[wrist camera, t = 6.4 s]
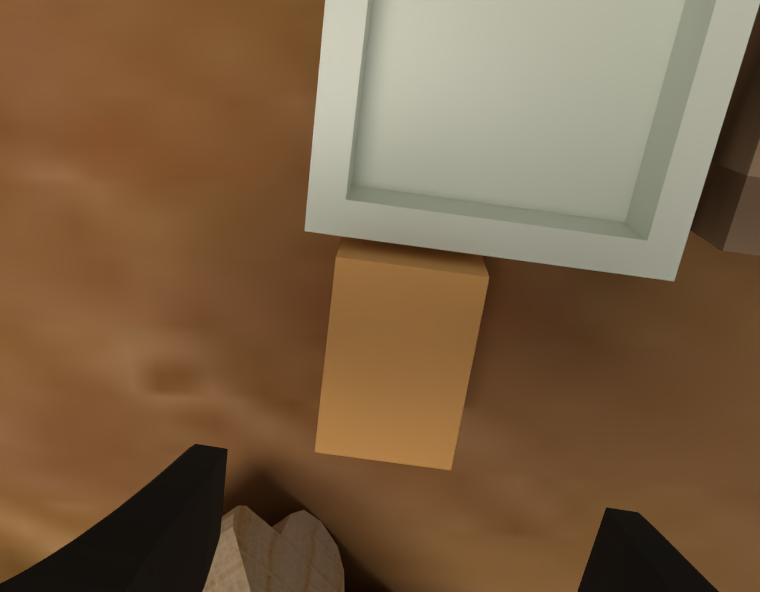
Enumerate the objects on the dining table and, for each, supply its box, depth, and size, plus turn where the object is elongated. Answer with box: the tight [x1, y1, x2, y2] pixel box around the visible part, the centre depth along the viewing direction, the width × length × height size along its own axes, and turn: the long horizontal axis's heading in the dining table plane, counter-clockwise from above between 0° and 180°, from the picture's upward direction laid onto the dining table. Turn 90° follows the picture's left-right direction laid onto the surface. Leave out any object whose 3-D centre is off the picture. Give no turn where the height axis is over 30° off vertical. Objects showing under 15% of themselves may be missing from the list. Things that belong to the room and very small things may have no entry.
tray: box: [304, 0, 760, 281], centre depth 17 cm, size 10×10×2 cm
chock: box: [315, 236, 489, 470], centre depth 20 cm, size 6×4×4 cm, turn 173°
